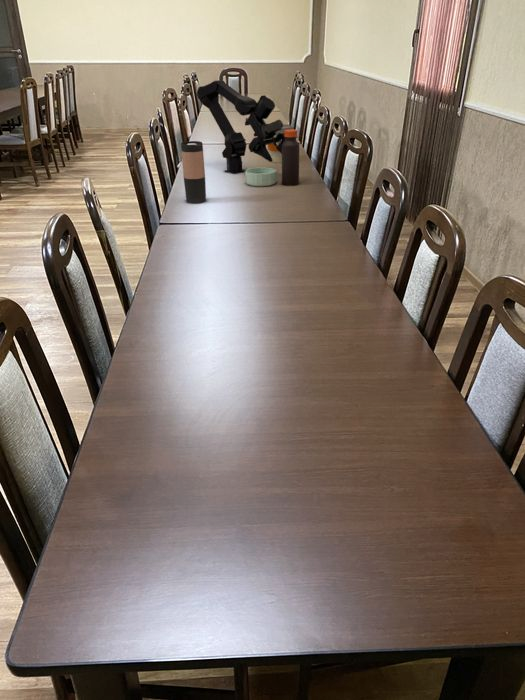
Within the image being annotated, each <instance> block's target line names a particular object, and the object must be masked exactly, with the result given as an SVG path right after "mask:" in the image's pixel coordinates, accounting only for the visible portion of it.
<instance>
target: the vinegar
mask: <svg viewBox="0 0 525 700" xmlns="http://www.w3.org/2000/svg"><path fill="white" fill-rule="evenodd" d="M284 138H285V141H284V142H283V144H282V162H281V184H282V185H284V186H297V185H299V184H300V143H299V142H298V141H297V138H298V130H297V129H294V128H293V129H289V130H285V131H284Z"/></svg>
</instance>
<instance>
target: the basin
mask: <svg viewBox="0 0 525 700" xmlns="http://www.w3.org/2000/svg"><path fill="white" fill-rule="evenodd" d="M244 172H245V183H246V184H247V185H248V186H251V187H260V188H261V187H270V186H273V185H275V184H276V183H277V169H275V168H274V167H273V168H272V167H263V166H262V167H261V166H259V167H257V166H256V167H252V168H251V167H250V168H247V169H245V170H244Z"/></svg>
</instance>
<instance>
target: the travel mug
mask: <svg viewBox="0 0 525 700" xmlns="http://www.w3.org/2000/svg"><path fill="white" fill-rule="evenodd" d="M180 149H181V150H180V151H181V163H182V173H183V174H182V175H183V183H184V185H183V186H184V193H185V201H186V203H188V204H202V203H205V202H206V201H207V188H206V187H207V186H206V170H205V159H204V158H205V156H204V146H203V142H202V141H198V140H189V141H187V140H186V141H183V142H181V143H180Z"/></svg>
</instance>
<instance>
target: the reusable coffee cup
mask: <svg viewBox="0 0 525 700" xmlns="http://www.w3.org/2000/svg"><path fill="white" fill-rule="evenodd" d="M289 129H293V130H294V126H293V125H291V124H283V127H282V130H279V131H277V132H276V135H274V138H275V137H276V136H277V135H278V134H279V133H282V132H284V131H285V130H289ZM267 150H268V152H269V154H270V156H271V158H272V162H271V163H282V154H281V153H280V152H279V151H278V150H277V149H276V146H275V145H274V144H273V143H272V144H267Z"/></svg>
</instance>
